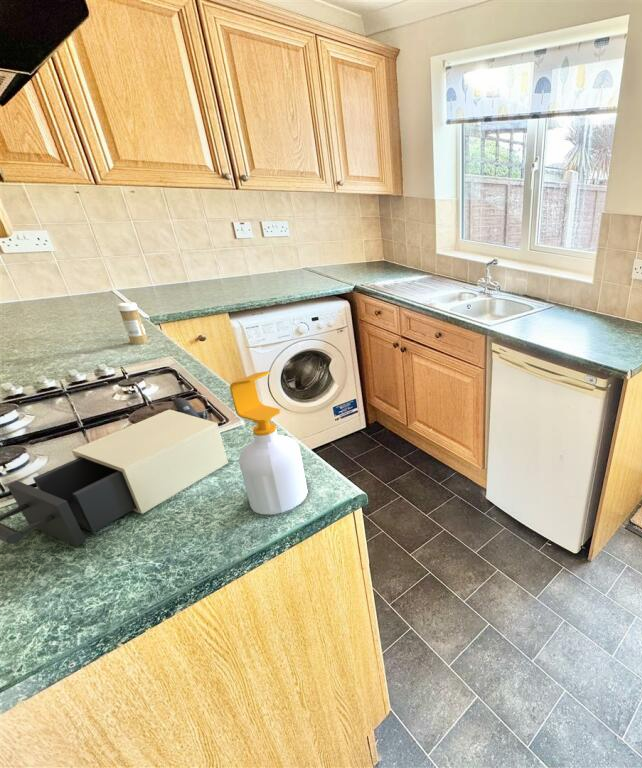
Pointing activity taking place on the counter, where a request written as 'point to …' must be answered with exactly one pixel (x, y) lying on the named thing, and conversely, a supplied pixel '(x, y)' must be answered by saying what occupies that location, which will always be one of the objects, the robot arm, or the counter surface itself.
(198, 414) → the grey club-shaped piece
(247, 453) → the spray bottle
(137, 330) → the sprinkles bottle
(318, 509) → the counter surface
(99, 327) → the counter surface
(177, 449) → the drawer box
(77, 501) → the dark grey drawer
